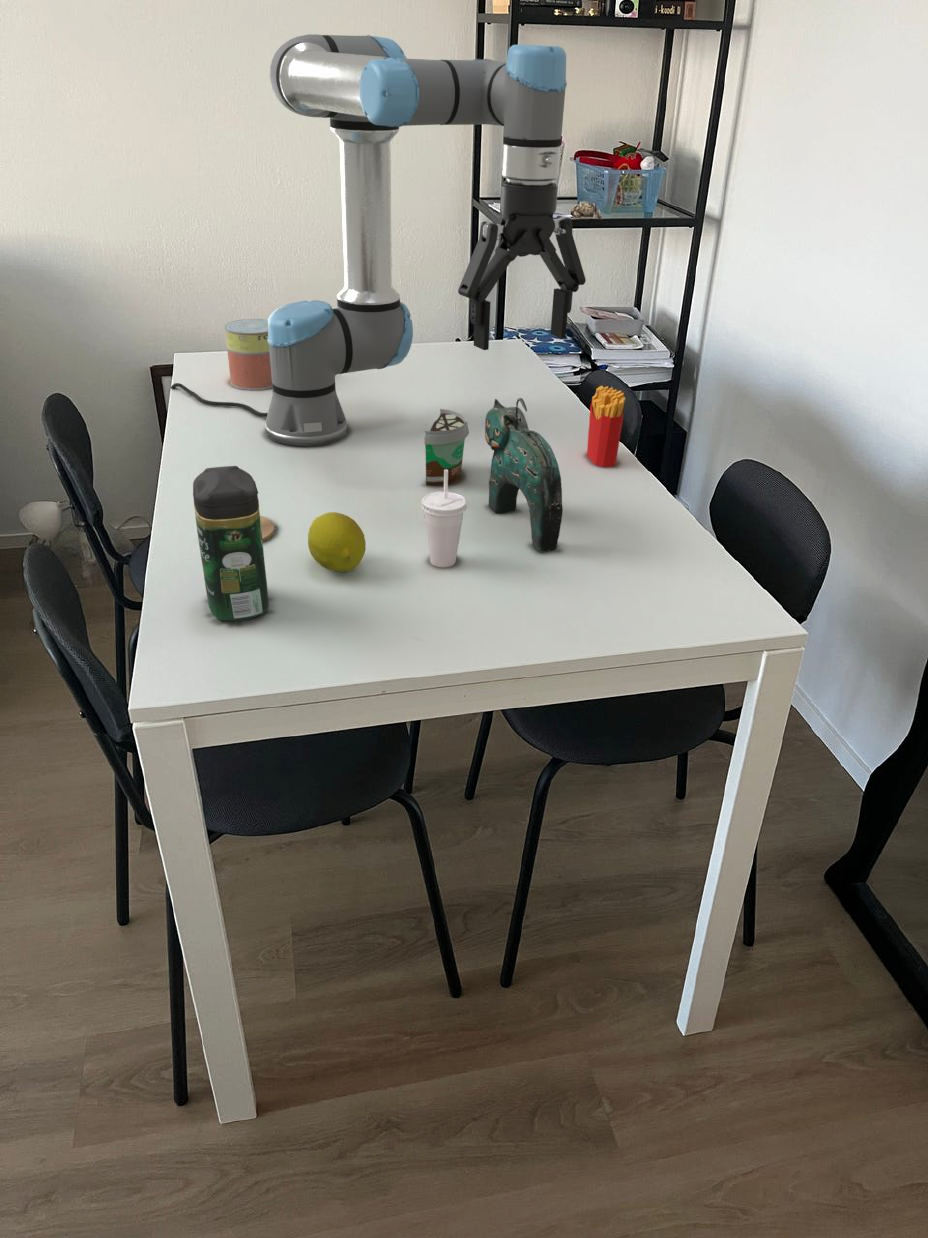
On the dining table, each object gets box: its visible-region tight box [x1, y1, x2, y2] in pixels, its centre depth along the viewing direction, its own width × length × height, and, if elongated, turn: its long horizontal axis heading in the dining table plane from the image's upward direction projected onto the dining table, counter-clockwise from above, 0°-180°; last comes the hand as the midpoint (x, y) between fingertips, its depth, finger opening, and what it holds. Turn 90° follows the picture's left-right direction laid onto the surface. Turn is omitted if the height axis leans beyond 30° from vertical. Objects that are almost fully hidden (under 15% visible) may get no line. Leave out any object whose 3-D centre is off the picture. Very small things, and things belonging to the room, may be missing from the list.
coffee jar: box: [192, 465, 270, 622], centre depth 121 cm, size 10×8×19 cm
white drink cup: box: [421, 469, 468, 568], centre depth 134 cm, size 6×6×14 cm
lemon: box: [307, 511, 367, 573], centre depth 133 cm, size 11×8×8 cm
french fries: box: [586, 385, 626, 468], centre depth 169 cm, size 9×4×13 cm, turn 15°
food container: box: [424, 408, 470, 487], centre depth 161 cm, size 12×6×10 cm, turn 168°
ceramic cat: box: [484, 397, 564, 553], centre depth 143 cm, size 20×6×20 cm, turn 23°
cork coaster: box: [260, 515, 276, 543], centre depth 144 cm, size 10×10×1 cm
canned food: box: [224, 318, 272, 391], centre depth 202 cm, size 11×11×12 cm
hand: (520, 341), depth 136 cm, fingers open, 13 cm apart
